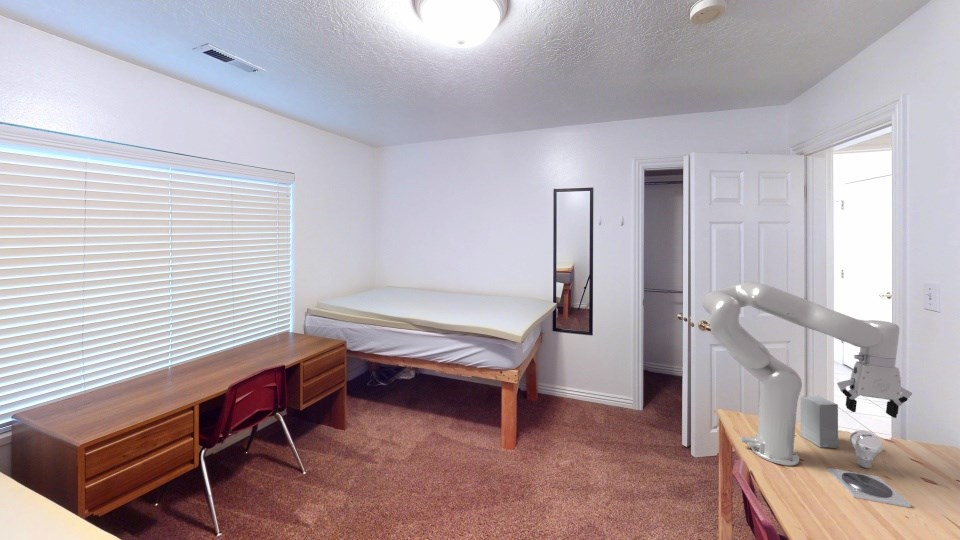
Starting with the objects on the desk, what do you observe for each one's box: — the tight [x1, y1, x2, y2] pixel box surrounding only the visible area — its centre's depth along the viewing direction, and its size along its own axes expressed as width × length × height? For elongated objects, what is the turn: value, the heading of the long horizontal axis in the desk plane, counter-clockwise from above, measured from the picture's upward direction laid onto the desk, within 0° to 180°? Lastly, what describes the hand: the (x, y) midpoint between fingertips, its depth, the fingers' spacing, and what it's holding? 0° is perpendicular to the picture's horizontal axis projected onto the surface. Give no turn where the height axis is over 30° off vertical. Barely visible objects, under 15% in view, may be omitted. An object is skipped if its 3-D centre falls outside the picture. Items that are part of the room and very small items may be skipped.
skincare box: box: [800, 395, 839, 449], centre depth 126 cm, size 8×7×16 cm
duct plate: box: [827, 467, 912, 508], centre depth 103 cm, size 12×12×1 cm
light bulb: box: [849, 429, 883, 469], centre depth 112 cm, size 7×7×12 cm
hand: (870, 412), depth 111 cm, fingers open, 9 cm apart
